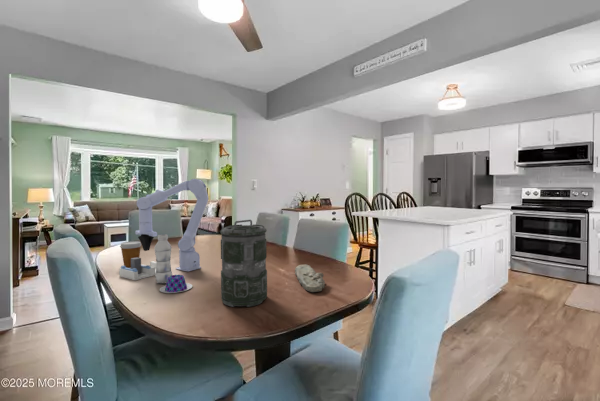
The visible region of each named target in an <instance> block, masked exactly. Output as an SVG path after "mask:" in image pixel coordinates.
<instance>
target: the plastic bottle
mask: <svg viewBox="0 0 600 401" xmlns="http://www.w3.org/2000/svg"><path fill="white" fill-rule="evenodd" d="M168 240H169V235H168V234H166V233H165V234H157V242H156V244H155V245H154V248H153V250H154V254H155V262H156V274H155V275H154V278H155V282H156V283H157V284H166V283H167V279H168V277H170V276H172V275H173V271H172V265H171V255H172V245H171V244H170V242H169V241H168Z"/></svg>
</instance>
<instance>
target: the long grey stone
mask: <svg viewBox="0 0 600 401" xmlns="http://www.w3.org/2000/svg"><path fill="white" fill-rule="evenodd" d="M294 275H295V276H296V278H297V280H298V282H299V284H300V285H301V286H302V288H303V289H304V290H305V291H308V292H310V293H317V292H318V293H319V292H322V291H323V289H325V284H326V283H325V280H324V278H323V277H324V274H323V272H316V271H315V269H314V267H311V265H310V264H309V265H308V264H299V265H297V266H296V267H295V269H294Z"/></svg>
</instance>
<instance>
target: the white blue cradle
mask: <svg viewBox="0 0 600 401" xmlns="http://www.w3.org/2000/svg"><path fill="white" fill-rule="evenodd" d="M149 264H150V265H147V264H142V263H141V274H138V270H137V269H136V268H134V269H131V268H126V266H124V265H121V266H120V268H119V269H118V270H119V277H121V278H125V279H128V280H132V281H137V280H141V279H144V278H149V277H153V276H155V274H156V261H154V260H152V261H149Z"/></svg>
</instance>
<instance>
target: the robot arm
mask: <svg viewBox="0 0 600 401" xmlns="http://www.w3.org/2000/svg"><path fill="white" fill-rule="evenodd" d="M183 191H190V192H191V193H192V194H193V195H194V197H195V198H196V203H195V205H194V208H193V211H192V214H191V215H190V216H191V217H190V218H189V221H188V224H187V227H186V230H185V231H184V233H183V235H182V237H181V238H180V239H179V240H178V243H177V247H178V249H179V250H178V253H179V254H178V257H179V258H178V259H179V267H175V270H179V271H184V272H191V271H195V270H198V269H202V266H200V265H201V264H200V261H201V259H200V256H201V255H200V254H199V252H198V251H196V248H195V244H196V236H197V231H198V230H199V226H200V224H201V221H202V218H203V215H204V213H205V210H206V207H207V205H208V202H209V194H208V189H207V185H206V184H205V182H204V181H203V180H201V179H200V178H192V179H190V180H189V179H188V180H185V181H183V182H180V183H178V184H176V185H174V186H172V187H170V188H168V189H166V190H163V189H156V190H155V192H152V193H150V194H149V193H148V194H146V195H145V196H140V198H138V199H137V201H136V206H137V208H138V227H139V228H138V229H137V230H135V231H134V232H135V234H134V235H137V236H138V237H137V238H138V240H139V242H141V244H142V245H141V246H142V247H141V248H142V250H143V251H144V252H146V251H150V248H151V245H152V244H151V243H153V239H154V238H155V237H158V232H157V231H154V229H153V207H154V206H157V205H159V204H161V203H164V202H167V200H168V198H169V197H171V196H173V195H175V194H178V193H180V192H183ZM139 235H140V236H139Z"/></svg>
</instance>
